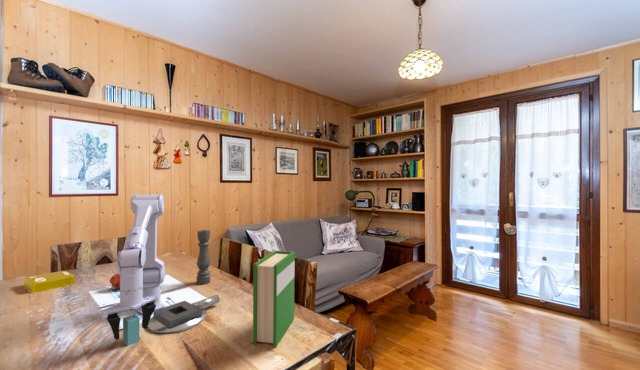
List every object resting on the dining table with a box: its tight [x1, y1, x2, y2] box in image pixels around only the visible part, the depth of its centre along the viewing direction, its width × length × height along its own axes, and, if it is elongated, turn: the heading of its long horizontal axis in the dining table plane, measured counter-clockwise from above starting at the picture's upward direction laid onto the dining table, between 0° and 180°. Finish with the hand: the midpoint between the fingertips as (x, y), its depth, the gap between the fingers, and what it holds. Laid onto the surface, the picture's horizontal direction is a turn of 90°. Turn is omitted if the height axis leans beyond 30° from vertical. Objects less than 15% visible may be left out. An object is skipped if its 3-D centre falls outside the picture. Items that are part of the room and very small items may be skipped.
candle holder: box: [196, 229, 211, 286], centre depth 135 cm, size 6×6×25 cm
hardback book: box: [252, 250, 296, 348], centre depth 91 cm, size 18×7×24 cm, turn 168°
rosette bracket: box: [147, 294, 221, 335], centre depth 100 cm, size 18×24×4 cm
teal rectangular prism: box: [122, 314, 141, 347], centre depth 84 cm, size 4×3×7 cm
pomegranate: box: [108, 273, 120, 291], centre depth 126 cm, size 7×7×10 cm
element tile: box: [23, 270, 76, 293], centre depth 130 cm, size 15×15×5 cm
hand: (131, 333), depth 84 cm, fingers open, 7 cm apart
